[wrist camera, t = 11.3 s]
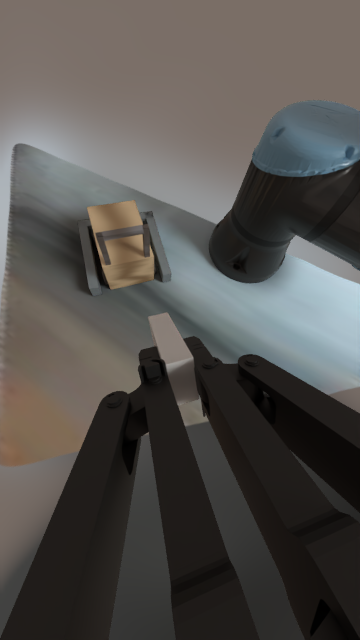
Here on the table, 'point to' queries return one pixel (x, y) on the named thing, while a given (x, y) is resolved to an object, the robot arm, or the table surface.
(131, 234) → the cart
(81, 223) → the frame
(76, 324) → the table surface
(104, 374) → the table surface
